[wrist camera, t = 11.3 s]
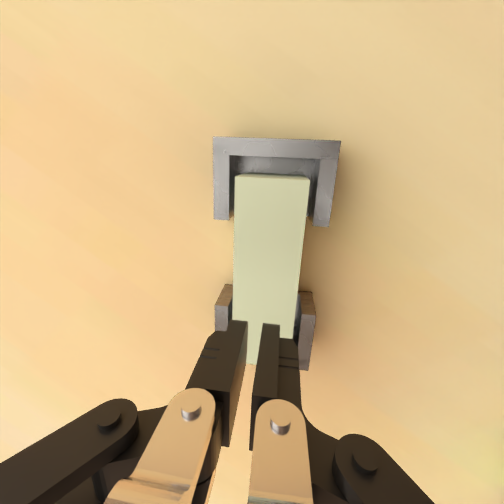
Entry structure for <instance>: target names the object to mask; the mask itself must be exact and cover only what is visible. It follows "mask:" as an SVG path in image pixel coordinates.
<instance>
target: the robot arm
mask: <svg viewBox="0 0 504 504" xmlns="http://www.w3.org/2000/svg"><path fill="white" fill-rule="evenodd" d="M247 341H248V321H241V320H230V322H229V325H228V327H227V330H226V331H218V330H216V331H215V332H214V333H213V334H212V335H211V336H209V337H208V339H207V341H206V343H205V346H204V349H203V350H202V352H201V355H200V357H199V359H198V361H197V364H196V366H195V368H194V370H193V373H192V375H191V377H190V379H189V382H188V384H187V386H186V388H185V390H183V391H181V392H180V393H178V394H177V395H175V396H174V397H173V398H172V400H171V401H170V403H169V404H168V405H166V406H164V407H160V408H155V409H149V410H143V411H137V407H136V406H135V404H134V403H133V402H132V401H130V400H127V399H113V400H110V401H107V402H105V403H103V404H101V405H99V406H97V407H96V408H94V409H92V410H90V411H89V412H87V413H85V414H84V415H82V416H80V417H79V418H77V419H75V420H73V421H72V422H70V423H68V424H67V425H65V426H63V427H61V428H60V429H58V430H56V431H55V432H53V433H51V434H50V435H48V436H46V437H44V438H43V439H41V440H39V441H38V442H36V443H34V444H33V445H31V446H29V447H27V448H26V449H24V450H22V451H21V452H19V453H17V454H15V455H14V456H12V457H10V458H9V459H7V460H5V461H4V462H2V463H0V504H208V501H209V497H210V493H211V490H212V486H213V482H214V478H215V473H216V465H217V462H218V458H219V453H220V449H221V446H225V447H229V445H230V440H231V435H232V430H233V425H234V420H235V415H236V410H237V405H238V400H239V396H240V391H241V386H242V381H243V376H244V371H245V366H246V358H247ZM249 450H250V451H253V453H252V464H251V475H250V486H249V496H248V503H247V504H435V503H434V502H433V501H432V500H431V499H430V498H429V497H428V496H427V495H426V494H425V493H424V492H423V491H422V490H421V489H420V488H419V486H418V485H417V484H416V483H415V482H414V481H413V480H412V479H411V478H410V477H409V476H408V475H407V474H406V473H405V472H404V471H403V469H402V468H401V467H400V466H399V465H398V464H397V463H396V462H395V461H394V460H393V459H392V458H391V457H390V456H389V455H388V454H387V453H386V451H385V450H384V449H383V448H382V447H381V446H380V445H378V444H377V443H376V442H375V441H373V440H371V439H370V438H368V437H365V436H363V435H359V434H348V435H345V436H343V437H342V438H341V439H340V440H337V439H335V438H333V437H331V436H329V435H327V434H325V433H323V432H321V431H319V430H318V429H316V428H315V427H314V426H313V425H312V424H311V423H310V422H309V421H308V420H307V418H306V417H305V415H304V413H303V410H302V405H301V390H300V373H299V355H298V347H297V346H296V344H295V342H294V341H293V339H289V338H280V325H278V324H269V323H263V325H262V332H261V338H260V345H259V352H258V358H257V365H256V372H255V378H254V385H253V392H252V405H251V424H250V444H249Z"/></svg>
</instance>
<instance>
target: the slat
mask: <svg viewBox="0 0 504 504" xmlns="http://www.w3.org/2000/svg"><path fill="white" fill-rule="evenodd" d="M309 187H310V180H309V179H308V178H307V177H306V176H305V175H294V174H274V173H254V172H247V173H244V174H241V175H238V176H235V200H234V255H233V309H232V320H241V321H248V341H247V358H246V363H247V364H254V365H257V358H258V352H259V345H260V338H261V332H262V325H263V323H269V324H278V325H280V338H289V339H292V337H293V329H294V320H295V311H296V302H297V293H298V284H299V276H300V267H301V258H302V249H303V240H304V231H305V223H306V214H307V205H308V196H309Z"/></svg>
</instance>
